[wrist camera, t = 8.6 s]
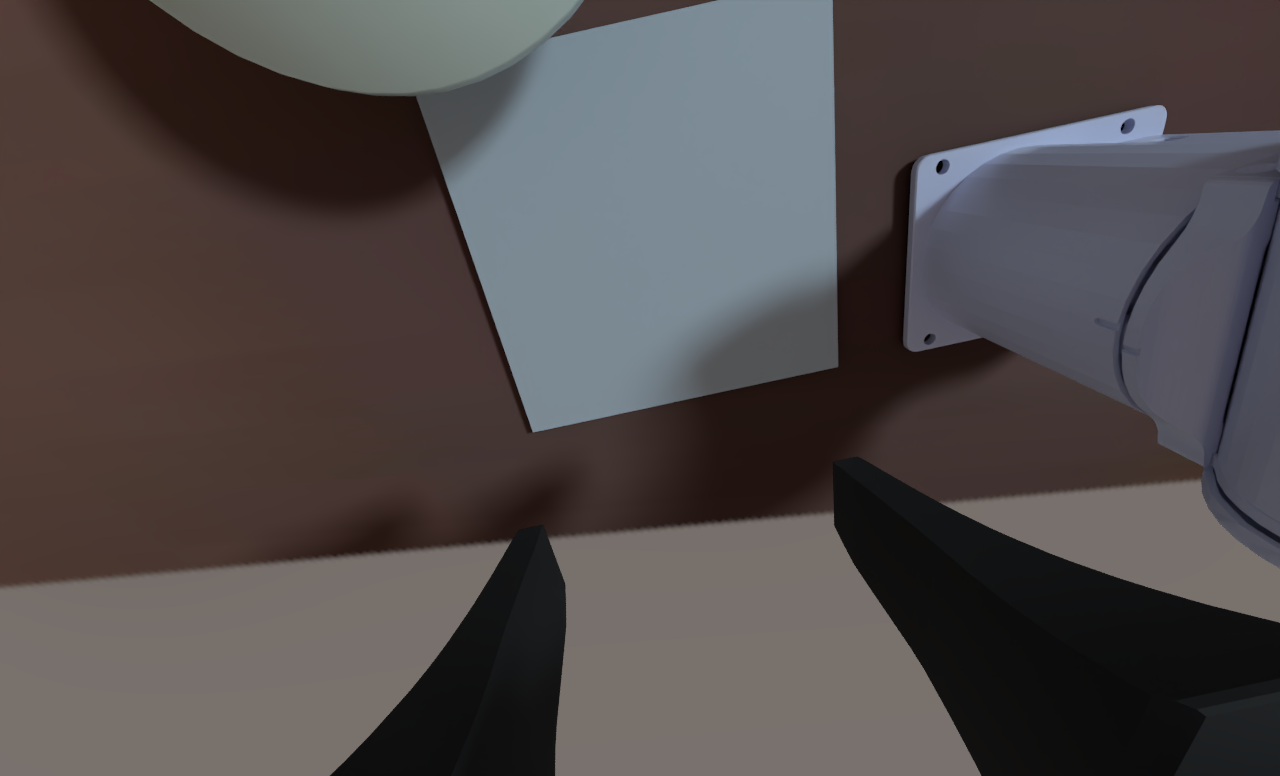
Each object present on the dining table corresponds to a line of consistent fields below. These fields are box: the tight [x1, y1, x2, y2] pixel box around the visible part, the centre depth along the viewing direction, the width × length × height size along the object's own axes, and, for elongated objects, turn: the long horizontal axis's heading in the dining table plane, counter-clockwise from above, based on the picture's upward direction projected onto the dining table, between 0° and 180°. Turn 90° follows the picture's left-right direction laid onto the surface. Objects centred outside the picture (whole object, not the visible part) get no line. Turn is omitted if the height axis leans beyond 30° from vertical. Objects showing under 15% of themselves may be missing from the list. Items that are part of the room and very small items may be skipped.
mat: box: [416, 0, 838, 432], centre depth 19 cm, size 14×14×1 cm
